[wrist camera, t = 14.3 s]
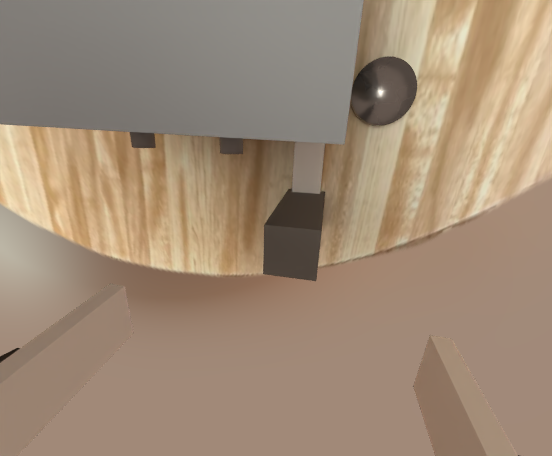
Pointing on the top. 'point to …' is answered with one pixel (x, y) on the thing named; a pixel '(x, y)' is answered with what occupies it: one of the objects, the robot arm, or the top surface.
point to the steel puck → (383, 91)
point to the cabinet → (181, 67)
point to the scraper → (297, 219)
